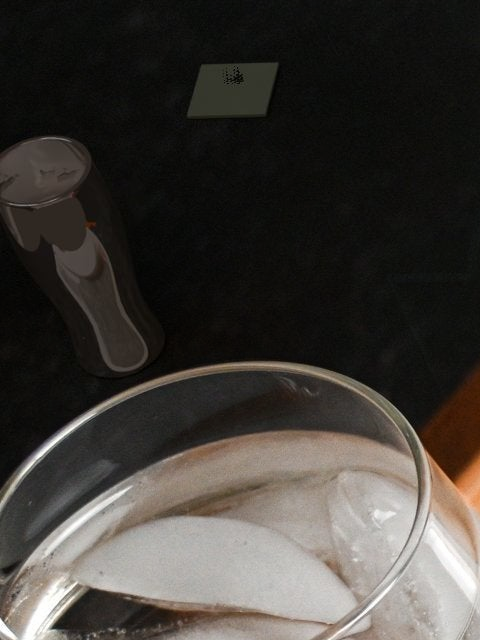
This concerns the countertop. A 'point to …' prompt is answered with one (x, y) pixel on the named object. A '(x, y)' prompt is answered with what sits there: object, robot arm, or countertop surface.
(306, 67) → the countertop surface
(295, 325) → the countertop surface
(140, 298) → the beer glass
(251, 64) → the tile
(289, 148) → the countertop surface
